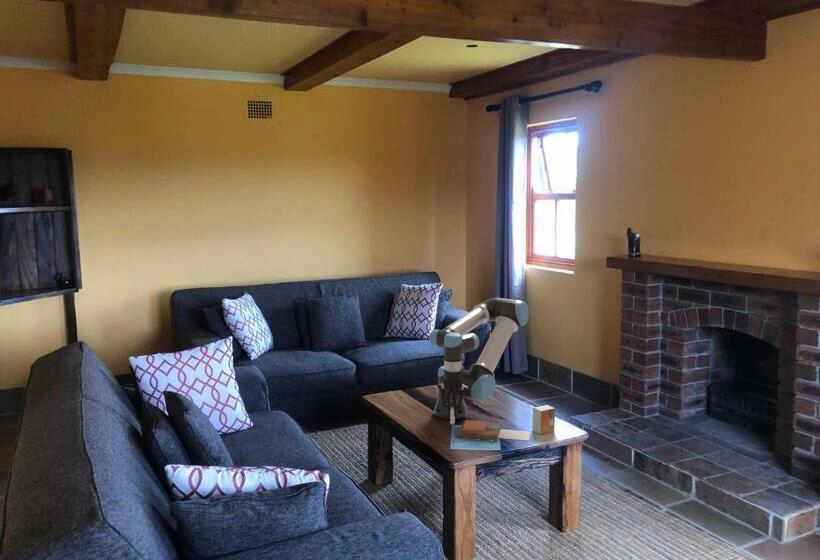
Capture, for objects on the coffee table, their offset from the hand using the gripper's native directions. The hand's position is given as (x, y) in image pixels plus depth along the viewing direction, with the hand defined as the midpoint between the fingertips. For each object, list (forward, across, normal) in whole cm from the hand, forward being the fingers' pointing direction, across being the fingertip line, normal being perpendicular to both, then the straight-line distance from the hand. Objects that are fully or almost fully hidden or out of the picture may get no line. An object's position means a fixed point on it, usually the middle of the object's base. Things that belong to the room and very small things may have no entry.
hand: (452, 422), depth 285 cm
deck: (+4, +12, 0) cm, 12 cm away
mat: (+4, +26, +2) cm, 27 cm away
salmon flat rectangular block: (+1, +10, 0) cm, 10 cm away
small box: (+4, +38, +10) cm, 39 cm away
